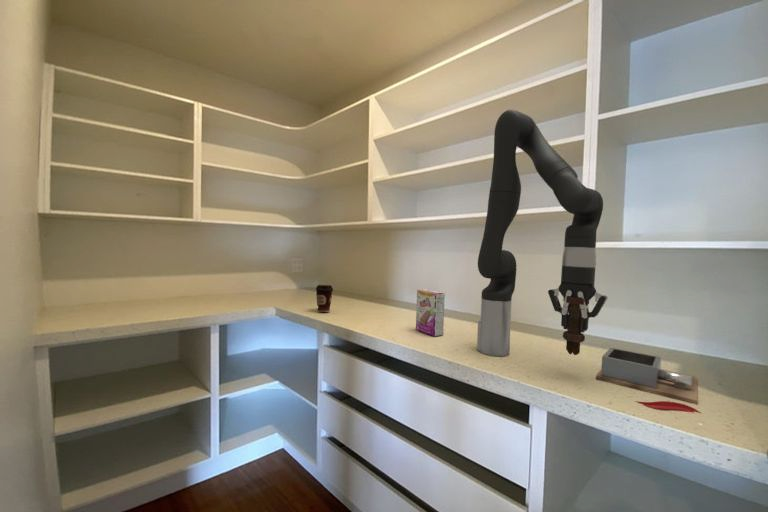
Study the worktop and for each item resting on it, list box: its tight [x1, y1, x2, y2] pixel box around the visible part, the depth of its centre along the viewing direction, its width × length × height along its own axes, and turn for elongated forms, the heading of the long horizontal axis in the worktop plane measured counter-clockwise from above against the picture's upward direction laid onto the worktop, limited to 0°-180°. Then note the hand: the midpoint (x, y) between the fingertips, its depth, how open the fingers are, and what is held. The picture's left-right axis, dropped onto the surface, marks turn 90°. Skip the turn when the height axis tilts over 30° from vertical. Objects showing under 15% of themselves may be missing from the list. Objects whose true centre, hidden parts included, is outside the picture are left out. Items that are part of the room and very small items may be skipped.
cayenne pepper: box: [635, 400, 702, 414], centre depth 70 cm, size 12×5×2 cm, turn 56°
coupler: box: [601, 347, 693, 391], centre depth 85 cm, size 17×18×5 cm
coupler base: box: [595, 368, 698, 406], centre depth 85 cm, size 19×20×1 cm
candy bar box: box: [415, 288, 446, 337], centre depth 127 cm, size 11×5×16 cm, turn 34°
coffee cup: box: [315, 284, 334, 313], centre depth 164 cm, size 9×8×13 cm
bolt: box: [562, 296, 590, 356], centre depth 85 cm, size 6×5×15 cm
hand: (574, 330), depth 85 cm, fingers closed on bolt, 3 cm apart
